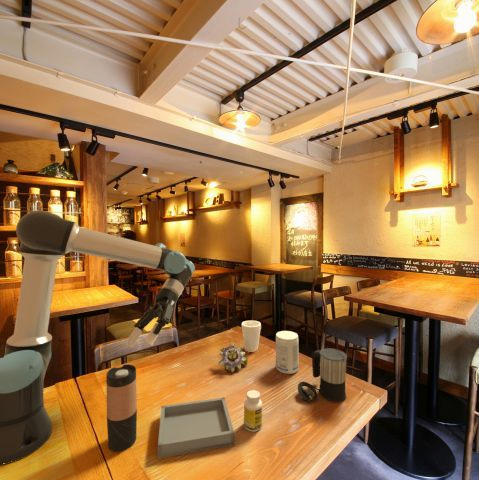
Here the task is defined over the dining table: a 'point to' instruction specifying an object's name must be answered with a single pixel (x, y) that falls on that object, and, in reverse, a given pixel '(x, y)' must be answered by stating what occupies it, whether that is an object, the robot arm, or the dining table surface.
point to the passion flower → (232, 357)
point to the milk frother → (327, 375)
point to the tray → (194, 427)
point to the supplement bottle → (253, 411)
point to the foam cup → (251, 334)
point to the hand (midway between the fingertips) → (137, 345)
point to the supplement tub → (287, 352)
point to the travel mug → (121, 407)
